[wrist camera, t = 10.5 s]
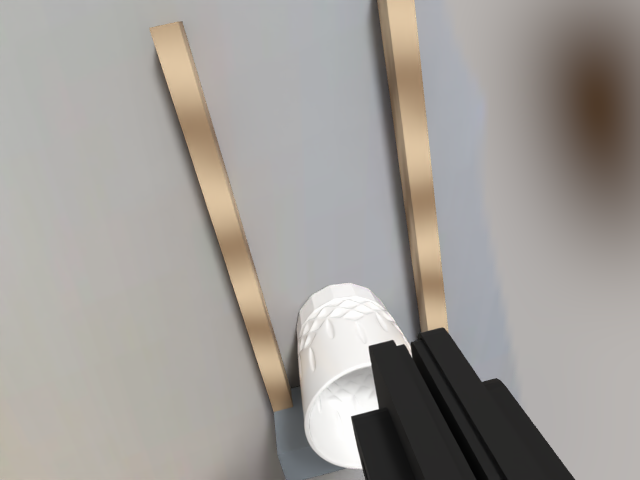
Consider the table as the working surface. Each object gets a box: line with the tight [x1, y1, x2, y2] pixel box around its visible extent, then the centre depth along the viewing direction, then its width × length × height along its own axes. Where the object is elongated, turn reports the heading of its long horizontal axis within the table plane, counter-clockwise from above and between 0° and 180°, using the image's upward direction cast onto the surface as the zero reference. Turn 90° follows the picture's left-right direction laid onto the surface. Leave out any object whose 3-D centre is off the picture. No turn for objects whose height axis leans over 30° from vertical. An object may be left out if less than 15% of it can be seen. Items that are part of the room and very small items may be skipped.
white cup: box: [296, 283, 412, 469], centre depth 32 cm, size 8×8×10 cm
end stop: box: [274, 386, 345, 480], centre depth 37 cm, size 3×14×6 cm, turn 101°
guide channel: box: [149, 0, 448, 412], centre depth 32 cm, size 27×14×2 cm, turn 12°
